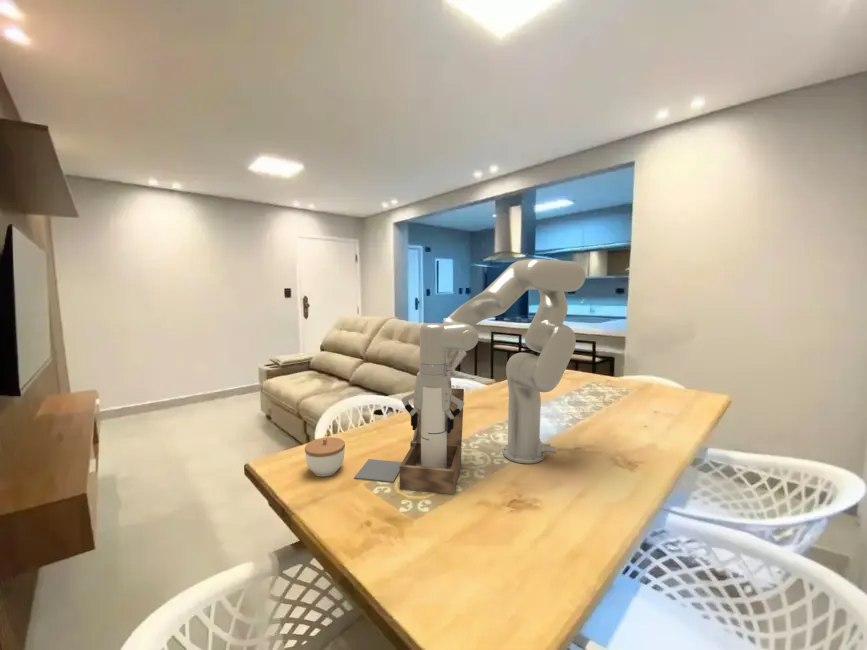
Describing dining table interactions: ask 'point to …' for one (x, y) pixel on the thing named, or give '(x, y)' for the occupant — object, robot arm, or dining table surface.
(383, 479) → the mat
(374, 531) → the dining table surface
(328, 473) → the lidded jar
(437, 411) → the cylindrical container
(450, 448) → the case
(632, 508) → the dining table surface
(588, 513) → the dining table surface
